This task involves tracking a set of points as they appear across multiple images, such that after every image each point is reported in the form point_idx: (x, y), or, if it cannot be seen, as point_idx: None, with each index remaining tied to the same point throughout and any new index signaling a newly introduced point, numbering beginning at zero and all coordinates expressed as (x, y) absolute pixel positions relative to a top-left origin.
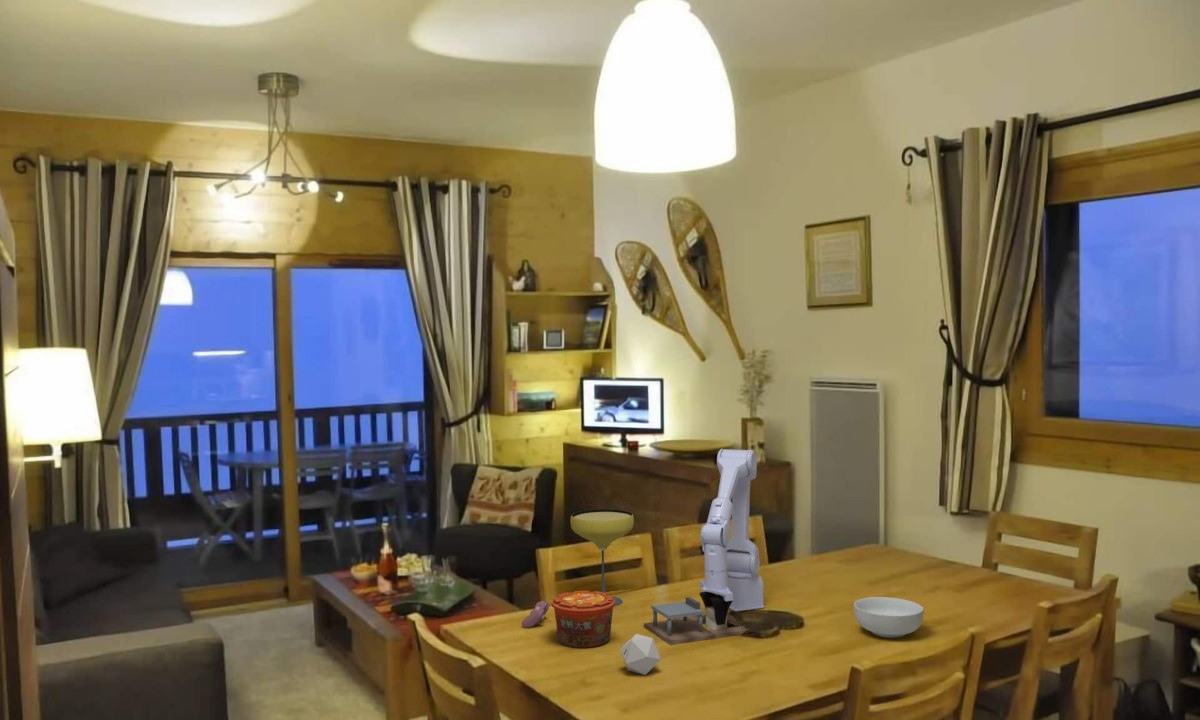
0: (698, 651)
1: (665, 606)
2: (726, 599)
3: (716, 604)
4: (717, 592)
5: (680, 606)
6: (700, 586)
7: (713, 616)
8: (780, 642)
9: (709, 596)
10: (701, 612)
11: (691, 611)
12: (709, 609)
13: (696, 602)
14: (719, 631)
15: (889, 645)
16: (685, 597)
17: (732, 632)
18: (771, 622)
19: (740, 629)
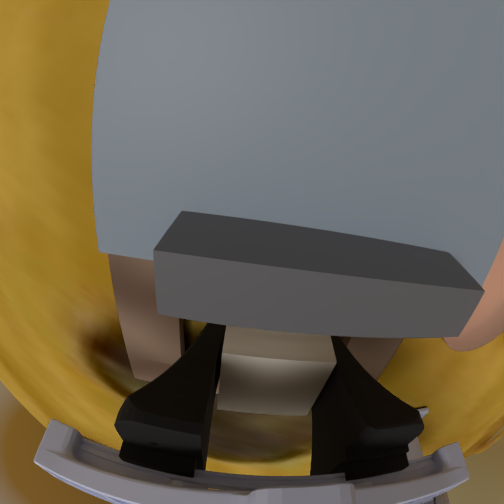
0: (19, 60)
1: (480, 19)
2: (47, 429)
3: (136, 393)
4: (118, 488)
5: (415, 128)
6: (455, 451)
7: (226, 328)
8: (47, 348)
9: (340, 441)
10: (100, 217)
11: (130, 112)
12: (279, 358)
13: (187, 279)
14: (139, 262)
15: (43, 418)
16: (484, 290)
17: (116, 301)
18: (218, 429)
19: (139, 343)
